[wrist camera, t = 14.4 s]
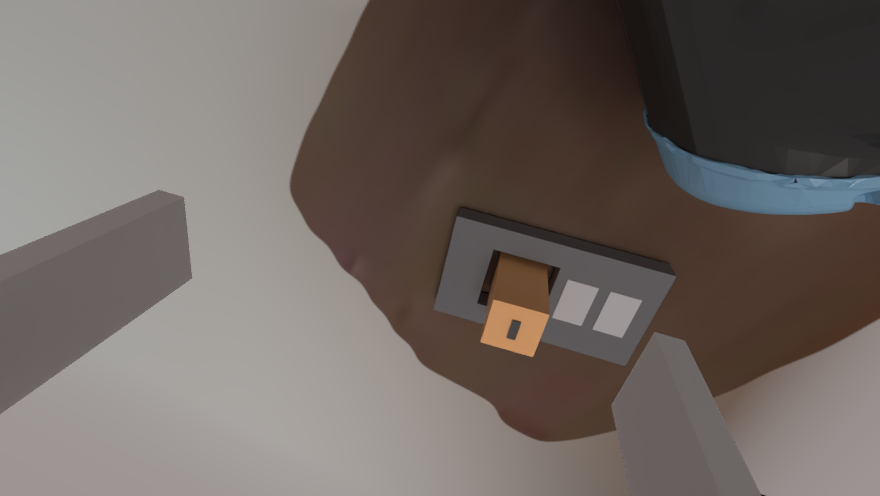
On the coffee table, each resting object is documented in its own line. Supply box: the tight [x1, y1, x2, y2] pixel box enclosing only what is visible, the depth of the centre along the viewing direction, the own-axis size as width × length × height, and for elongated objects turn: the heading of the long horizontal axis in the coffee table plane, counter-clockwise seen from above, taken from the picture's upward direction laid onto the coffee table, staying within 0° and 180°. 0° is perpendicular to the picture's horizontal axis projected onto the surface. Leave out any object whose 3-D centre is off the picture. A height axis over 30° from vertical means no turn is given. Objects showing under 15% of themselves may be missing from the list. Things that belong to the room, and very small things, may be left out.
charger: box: [481, 252, 550, 357], centre depth 42 cm, size 5×5×10 cm
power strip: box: [434, 207, 677, 366], centre depth 45 cm, size 12×22×3 cm, turn 77°
